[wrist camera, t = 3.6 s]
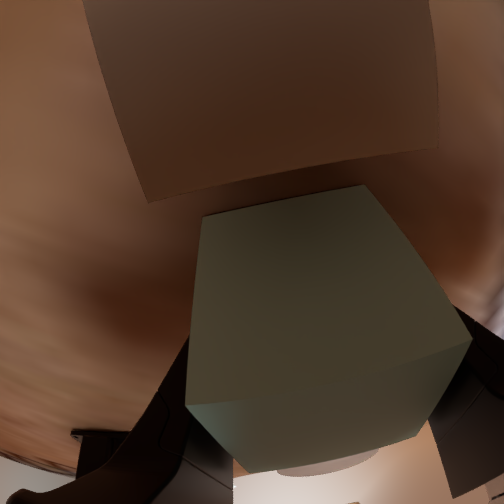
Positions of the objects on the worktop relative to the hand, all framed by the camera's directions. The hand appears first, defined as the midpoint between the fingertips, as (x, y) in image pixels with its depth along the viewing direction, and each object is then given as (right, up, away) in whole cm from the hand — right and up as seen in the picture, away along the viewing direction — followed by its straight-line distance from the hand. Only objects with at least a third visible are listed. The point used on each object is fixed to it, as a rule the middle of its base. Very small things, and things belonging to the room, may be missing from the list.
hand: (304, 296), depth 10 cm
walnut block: (-2, +7, -3) cm, 8 cm away
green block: (0, +1, +1) cm, 2 cm away
